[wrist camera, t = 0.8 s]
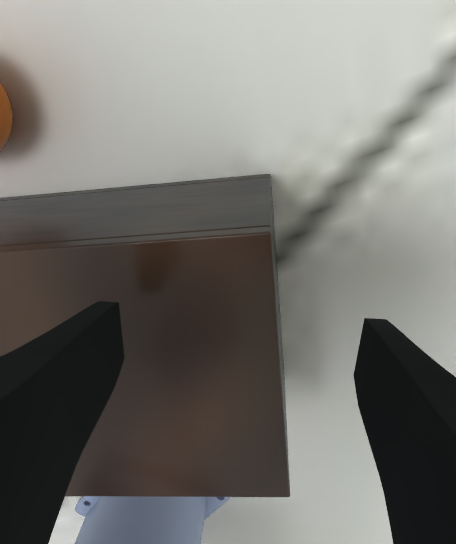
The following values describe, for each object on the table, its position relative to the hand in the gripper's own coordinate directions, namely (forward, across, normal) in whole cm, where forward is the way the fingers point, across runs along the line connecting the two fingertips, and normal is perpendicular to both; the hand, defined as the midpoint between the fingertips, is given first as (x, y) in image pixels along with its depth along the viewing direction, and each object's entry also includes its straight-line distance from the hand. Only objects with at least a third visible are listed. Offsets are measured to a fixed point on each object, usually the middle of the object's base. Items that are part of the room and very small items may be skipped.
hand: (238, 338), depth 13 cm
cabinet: (+10, +5, +4) cm, 12 cm away
